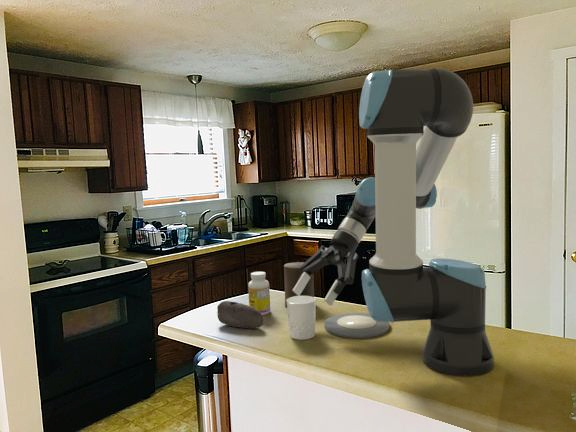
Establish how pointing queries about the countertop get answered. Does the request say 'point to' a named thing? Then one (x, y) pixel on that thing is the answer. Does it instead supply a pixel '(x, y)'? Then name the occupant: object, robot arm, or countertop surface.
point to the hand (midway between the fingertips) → (311, 297)
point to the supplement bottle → (259, 293)
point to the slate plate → (355, 325)
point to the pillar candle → (291, 279)
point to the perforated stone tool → (239, 315)
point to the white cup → (301, 316)
